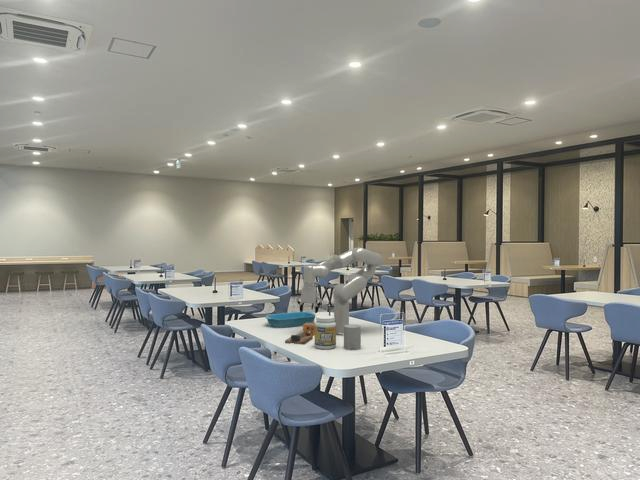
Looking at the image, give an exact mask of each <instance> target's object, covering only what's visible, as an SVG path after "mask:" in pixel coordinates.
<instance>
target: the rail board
mask: <svg viewBox="0 0 640 480" xmlns="http://www.w3.org/2000/svg"><path fill="white" fill-rule="evenodd" d="M313 337H314V336H310V335H306V336H304V331H303V330H301V331H299V332H298V333H296V334H292V335H291V336H290V337H289V338H287V339H285V340H284V344H290V343H294V344H295V345H307V344H308V343H309V342H310V341H312V340H314V338H313ZM294 344H293V345H294Z"/></svg>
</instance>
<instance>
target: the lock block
mask: <svg viewBox="0 0 640 480" xmlns="http://www.w3.org/2000/svg"><path fill="white" fill-rule="evenodd" d="M302 331H304V336H313V337H315V322H313V323H305V324H303V326H302Z"/></svg>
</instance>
